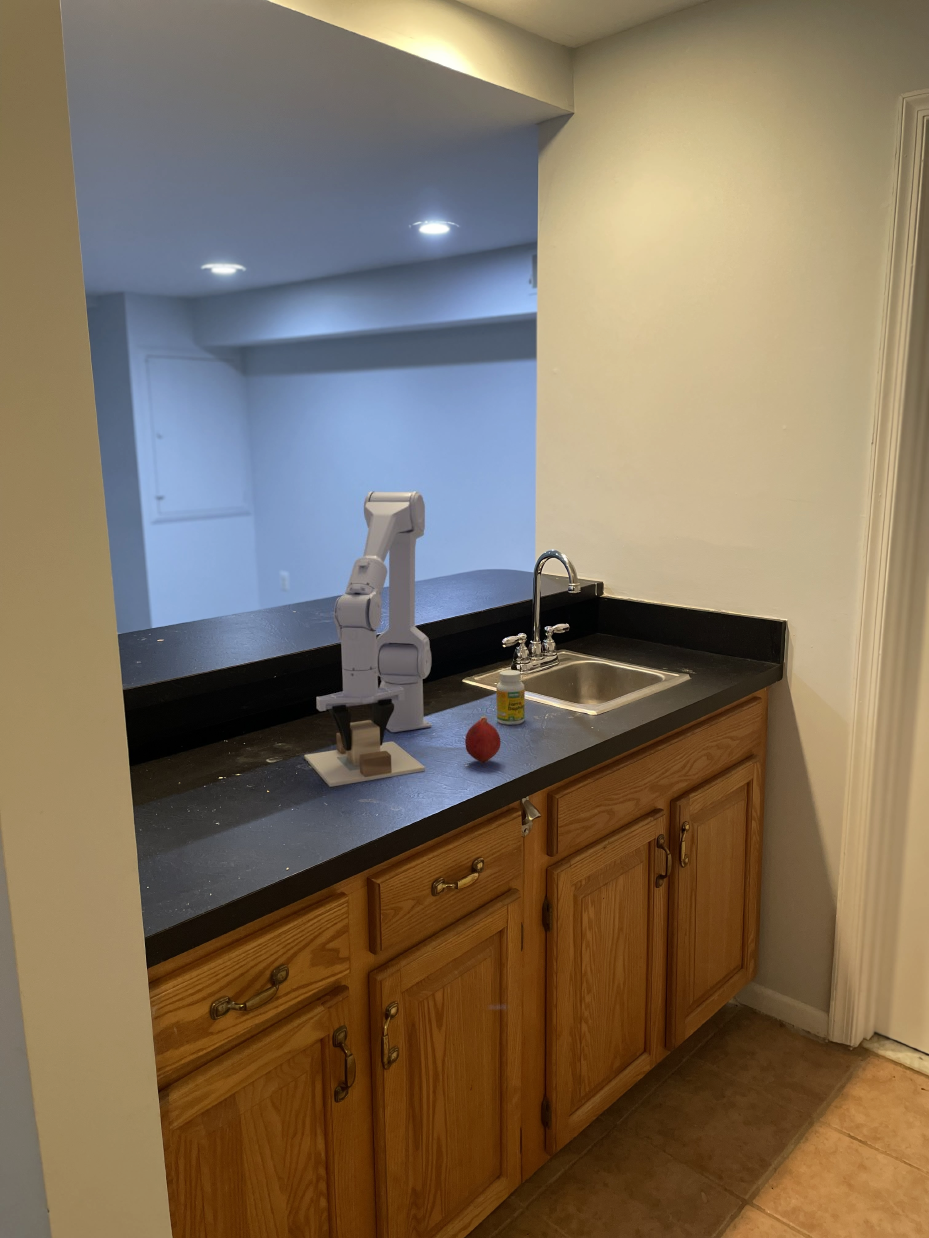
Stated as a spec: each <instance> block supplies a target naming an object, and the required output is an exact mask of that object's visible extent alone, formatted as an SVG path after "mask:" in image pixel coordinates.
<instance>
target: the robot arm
mask: <svg viewBox="0 0 929 1238" xmlns="http://www.w3.org/2000/svg"><path fill="white" fill-rule="evenodd" d="M425 504H426V503H425V501H424V498H423V495H422V494H421V493H420V492H419V490H414V491H375V490H374V491H373V490H371V491H369V492H368V493H367V494H366V496H365V498H364V502H363V515H364V519H365V522H366V526H367V528H368V531H367V536H366V542H365V546H364V552H363V556H361V557H359V558H357V559H356V560H355V561H354V563H353V567H352V570H351V573H350V577H349V579H348V583H347V586H346V590H345V591H344V593H343V594H342V595H341V596H339V597H337V599H336V600H335V603H334V610H333V620H334V624H335V627H336V630H337V631H336V632H337V639H338V640H339V641H340V645H341V647H340V648H341V668H342V669H341V671H342V691H339V692H336V693H335V692H334V693H331V694H327V695H322V696H316V709H317V710H318V711H319V712H323V711H325V712H326V711H327V710H328V712H329V713H330V715H331V716H332V719H333V721H334V723H335V725H336V727H337V729H338V733H340V736H341V739H342V743H343V748H344V749H345V750H346V751H350V750H351V738H350V723H352V722H351V720H352V713H350V712H349V708H347V707H354V706H359V705H361V706H362V705H368V704H370V705H371V709H372V718H373V722H374V723H375V724H376V725H377V726H379V728H380V746H382V743H384V736H385V732H386V730H388V731H389V732H391V733H397V732H398V733H399V732H404V731H413V730H418V729H424V728H426V729H427V728H431V727H432V723H430V722H429V721H427V720H426V719H425V718H424V693H423V692H424V691H423V689H424V687H423V679H426V678H427V677H428V676H429V674H430V672H431V667H432V651H431V648H430V646H431V645H430V640H429V639H430V638H429V637H428V636H427V635H426V634H425V633H424V632H422V631H421V630H419V629H418V628H417V627H416V626H415V625H416V624H415V623H416V621H415V620H416V615H415V614H416V612H415V610H416V606H415V605H416V545H417V539H419V538H422V537H423V536H425V530H426V529H425V527H426V505H425ZM387 555H388V567H387V566H386V564H385V561H386V558H387ZM388 571H389V572H388ZM387 577H388V628H387V629H386V630H384V631H382V633H380V634H379V635H378V636H377V629H378V628H379V627H380V623H381V619H382V606H383V600H382V593H383V589H384V586H385V582H386V579H387ZM379 677H380V681H381V682H380V685H379V680H378V679H379Z"/></svg>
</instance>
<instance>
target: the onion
mask: <svg viewBox="0 0 929 1238" xmlns="http://www.w3.org/2000/svg"><path fill="white" fill-rule="evenodd" d="M499 734H500V733H499V732H498V731H497V729H496V727H494V726H493V725H492V724H491V723H489V722H488V718H487V716H482V717H480V719H479V720H478V721H477V722H476V723H474V724H473V725H472V726H471V727H470V728H468V730H467V732H466V734H465V735H466V736H465V740H464V741H465V742H464V744H465V750H466V752H467V754H468V755H469V756H470V757H472V758H473V759H474V760H476V761H477V762H478V763H481V764H487V763H488V762H489V760H491V759H492V758H493V757H495V755H496V754H498V752H499V750H500V749H501V742H502V741H501V737H500V735H499Z"/></svg>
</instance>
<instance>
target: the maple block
mask: <svg viewBox="0 0 929 1238" xmlns="http://www.w3.org/2000/svg"><path fill="white" fill-rule="evenodd" d="M350 738H351V750H350V751H346V758H347V759H348V760H349V761H350V762H351V763H352V764H353V765H354V766H360V757H359V755H361V754H367V753H374V752H380V728H379V726H377V725H376V724H375V723H374V721H372V720H371V719H367V720H362V721H355V722H350Z"/></svg>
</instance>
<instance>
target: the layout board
mask: <svg viewBox="0 0 929 1238" xmlns="http://www.w3.org/2000/svg"><path fill="white" fill-rule="evenodd" d="M380 751H387V752H388V753H389V754H391V769H392V773H388V774H382V775H376V776H370V777H364V776H363V775H362V774H361V773H360V766H354V765H353V764H352V763H351V762H350V761H349V760H348V759H347V758H346V753H345V754H341V753H340V752H339V751H338V750H337V749H334V750H329V751H328V750H327V751H321V752H315V753H308V754H304V759H305V761H306V762H307V761H308V762H307V763H308V764H309V765H310V767H312V768H313V770H314V771H315V772H316V773H317V774H318V775H319V777H321V779H322V780H323V781H324V782H325V783H326V784H327V786H329V787H330V788H331V787H336V786H344V785H349V784H355V783H360V782H365V781H366V782H367V781H372V780H378V779H383V778H389V777H396V776H402V775H407V774H413V773H418V772H419V773H420V772H425V771H426V767H425V766H424V765H423V764H422V763H420V762H419V761H418V760H417V759H416V758H414V756H411V754H409V753H408V752H407V751H406V750H404V749H403V748H402V747H400V746H399V745H398V744H397V743H396V742H394V740H393V741H388V742H387V741H386V742H383V743H382V746H380Z"/></svg>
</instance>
